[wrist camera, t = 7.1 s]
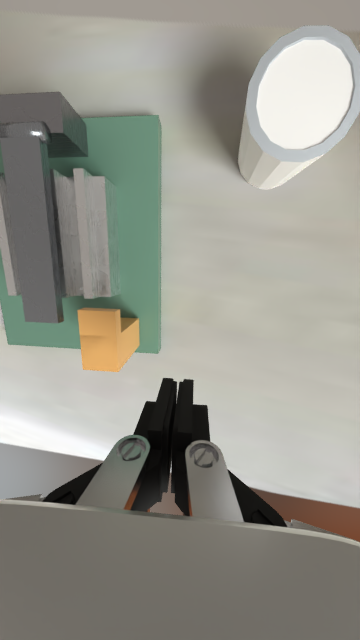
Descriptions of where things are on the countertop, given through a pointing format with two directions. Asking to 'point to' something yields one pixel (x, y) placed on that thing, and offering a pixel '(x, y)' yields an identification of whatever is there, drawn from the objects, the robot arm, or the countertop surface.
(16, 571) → the robot arm
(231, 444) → the countertop surface
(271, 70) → the white grey cylinder
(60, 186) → the heat sink
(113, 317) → the block
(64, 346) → the circuit board
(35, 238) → the strap
